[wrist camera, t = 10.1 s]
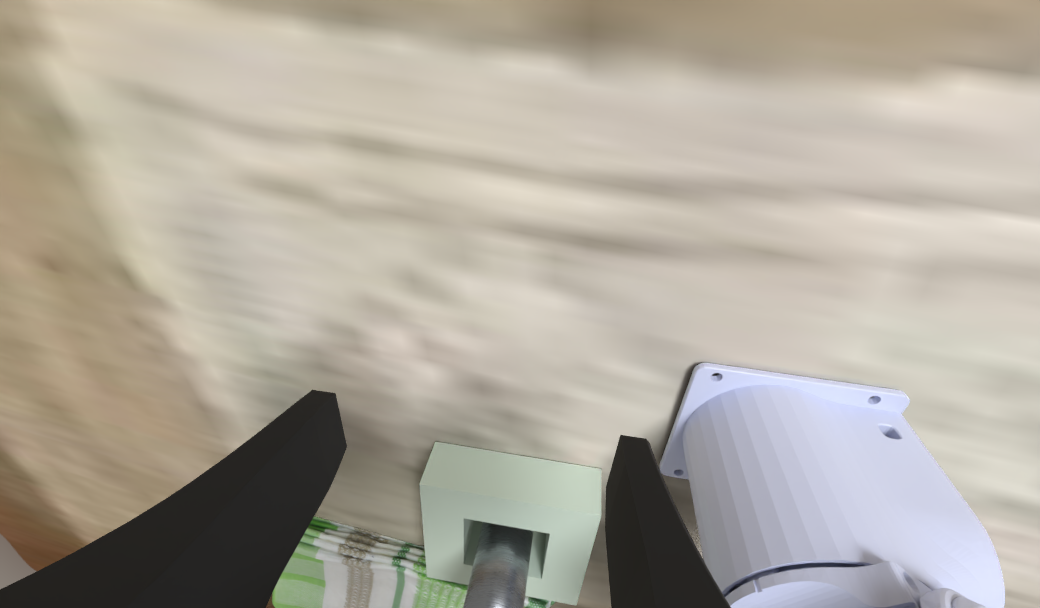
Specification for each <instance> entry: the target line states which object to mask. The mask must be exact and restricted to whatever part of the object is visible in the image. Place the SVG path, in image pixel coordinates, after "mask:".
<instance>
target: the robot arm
mask: <svg viewBox="0 0 1040 608" xmlns="http://www.w3.org/2000/svg"><path fill="white" fill-rule="evenodd" d="M714 373H720V374H719V375H717V376H712V374H714ZM872 396H874V397H873V398H870V397H872ZM909 402H910V400H909V397H908V396H907V395H906V394H905V393H904V392H903V391H900V390H894V389H887V388H880V387H873V386H866V385H859V384H852V383H845V382H838V381H831V380H824V379H817V378H810V377H803V376H796V375H789V374H782V373H775V372H768V371H761V370H754V369H747V368H740V367H733V366H726V365H719V364H712V363H701V364H698V365H697V366H695V368H694V370H693V372H692V375H691V378H690V381H689V384H688V386H687V389H686V392H685V395H684V398H683V400H682V403H681V406H680V409H679V411H678V414H677V417H676V420H675V423H674V425H673V428H672V431H671V434H670V437H669V439H668V442H667V445H666V448H665V451H664V453H663V456H662V459H661V462H660V470H659V467H658V465H657V462H656V460H655V457H654V454H653V452H652V449H651V446H650V443H649V442H648V441H647V439H644V438H637V437H630V436H623V435H620V439H619V442H618V446H617V450H616V453H615V457H614V461H613V464H612V468H611V471H610V475H609V479H608V482H607V486H606V518H605V532H606V545H607V557H608V570H609V582H610V594H611V606H612V608H1004V604H1005V588H1004V580H1003V575H1002V570H1001V567H1000V563H999V559H998V556H997V554H996V551H995V548H994V546H993V543H992V541H991V539H990V537H989V535H988V533H987V532H986V530H985V528H984V527H983V525H982V524H981V522H980V521H979V519H978V518H977V516H976V515H975V514H974V512H973V511H972V510H971V508H970V507H969V505H968V504H967V503H966V501H965V500H964V499H963V497H962V496H961V495H960V493H959V492H958V490H957V489H956V488H955V486H954V485H953V484H952V482H951V481H950V480H949V478H948V477H947V475H946V474H945V473H944V471H943V470H942V469H941V467H940V466H939V465H938V463H937V462H936V460H935V459H934V458H933V456H932V455H931V454H930V452H929V451H928V450H927V448H926V447H925V445H924V444H923V443H922V441H921V440H920V439H919V437H918V436H917V435H916V433H915V432H914V430H913V429H912V428H911V426H910V425H909V424H908V422H907V421H906V420H905V418H904V417H903V415H902V413H903V411H904V410H905V409H906V407H907V406H908V405H909ZM346 448H347V445H346V440H345V436H344V431H343V427H342V422H341V417H340V413H339V408H338V403H337V399H336V394H335V393H330V392H323V391H316V390H312V391H311V392H309V393H308V394H307V395H305V396H304V397H303V398H301V399H300V400H299V401H298V402H296V403H295V404H294V405H293V406H291V407H290V408H289V409H287V410H286V411H285V412H284V413H282V414H281V415H280V416H279V417H277V418H276V419H275V420H274V421H272V422H271V423H270V424H269V425H267V426H266V427H265V428H263V429H262V430H261V431H260V432H258V433H257V434H256V435H254V436H253V437H252V438H251V439H249V440H248V441H247V442H245V443H244V444H243V445H241V446H240V447H239V448H237V449H236V450H235V451H234V452H232V453H231V454H230V455H228V456H227V457H225V458H224V459H223V460H221V461H220V462H219V463H217V464H216V465H214V466H213V467H211V468H210V469H209V470H207V471H206V472H204V473H203V474H202V475H200V476H199V477H197V478H196V479H195V480H193V481H192V482H190V483H189V484H187V485H186V486H184V487H183V488H181V489H180V490H178V491H177V492H175V493H174V494H172V495H171V496H169V497H168V498H166V499H165V500H163V501H162V502H160V503H158V504H157V505H155V506H154V507H152V508H150V509H149V510H147V511H146V512H144V513H142V514H141V515H139V516H137V517H136V518H134V519H132V520H131V521H129V522H127V523H126V524H124V525H122V526H120V527H119V528H117V529H115V530H113V531H111V532H110V533H108V534H106V535H104V536H102V537H101V538H99V539H97V540H95V541H94V542H92V543H90V544H88V545H86V546H85V547H83V548H81V549H79V550H77V551H76V552H74V553H72V554H70V555H68V556H66V557H64V558H63V559H61V560H59V561H57V562H55V563H53V564H51V565H49V566H47V567H45V568H43V569H41V570H39V571H37V572H35V573H33V574H31V575H29V576H27V577H25V578H23V579H21V580H19V581H17V582H15V583H13V584H11V585H9V586H7V587H5V588H3V589H1V590H0V608H266V606H267V603H268V601H269V599H270V597H271V594H272V592H273V590H274V588H275V586H276V584H277V582H278V580H279V578H280V576H281V575H282V573H283V571H284V569H285V567H286V565H287V564H288V562H289V560H290V558H291V556H292V555H293V553H294V551H295V549H296V548H297V546H298V544H299V542H300V540H301V539H302V537H303V535H304V533H305V531H306V530H307V528H308V526H309V524H310V523H311V521H312V519H313V517H314V515H315V514H316V512H317V510H318V508H319V506H320V505H321V503H322V501H323V499H324V497H325V495H326V494H327V492H328V490H329V488H330V486H331V484H332V482H333V480H334V477H335V475H336V472H337V470H338V468H339V465H340V463H341V460H342V458H343V455H344V453H345V450H346ZM677 469H679V470H677ZM661 473H662V474H663V475H665V476H670V477H676V478H682V479H688V480H689V483H690V489H691V494H692V499H693V505H694V510H695V516H696V521H697V527H698V532H699V537H700V543H701V548H702V554H703V559H704V561H703V559H702V557H701V555H700V553H699V551H698V550H697V548H696V546H695V544H694V542H693V540H692V538H691V536H690V534H689V532H688V530H687V528H686V526H685V524H684V522H683V520H682V518H681V516H680V514H679V512H678V510H677V508H676V506H675V504H674V502H673V499H672V497H671V495H670V493H669V491H668V488H667V486H666V484H665V481H664V479H663V477H662V474H661Z"/></svg>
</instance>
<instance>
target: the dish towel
mask: <svg viewBox="0 0 1040 608" xmlns="http://www.w3.org/2000/svg"><path fill="white" fill-rule="evenodd" d="M467 589H468V585H466V584H460V583H455V582H450V581H445V580H439V579H434V578H429V577H427V570H426V559H425V547H422V546H417V545H414V544H411V543H407V542H404V541H401V540H397V539H393V538H390V537H386V536H383V535H380V534H377V533H374V532H370V531H367V530H363V529H359V528H356V527H352V526H347V525H343V524H340V523H337V522H332V521H328V520H325V519H321V518H318V517H313V519H312V521H311V523H310V524H309V526H308V528H307V530H306V531H305V533H304V535H303V537H302V539H301V540H300V542H299V544H298V546H297V548H296V549H295V551H294V553H293V555H292V556H291V558H290V560H289V562H288V564H287V565H286V567H285V569H284V571H283V573H282V575H281V576H280V578H279V580H278V582H277V584H276V586H275V588H274V590H273V597H272V602H273V605H274V607H275V608H463V606H464V602H465V598H466V593H467ZM554 603H555V601H549V600H544V599H539V598H534V597H528V596H525V601H524V608H549V607H550V606H551V605H553V604H554Z"/></svg>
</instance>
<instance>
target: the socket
mask: <svg viewBox="0 0 1040 608" xmlns="http://www.w3.org/2000/svg"><path fill="white" fill-rule="evenodd" d="M419 487H420V499H421V511H422V523H423V535H424V547H425V559H426V570H427V577H429V578H434V579H439V580H445V581H450V582H455V583H460V584H466V585H468V584H469V580H470V576H471V571H472V567H473V563H474V558H475V554H476V550H477V545H478V541H479V536H480V532H481V528H482V523H483V522H487V523H492V524H498V525H503V526H509V527H515V528H520V529H526V530H531V531H533V539H532V547H531V555H530V562H529V570H528V578H527V586H526V593H525V596H528V597H534V598H539V599H544V600H549V601H555V602H560V603H565V604H570V605H577V602H578V598H579V594H580V591H581V587H582V584H583V580H584V576H585V573H586V569H587V566H588V562H589V558H590V555H591V551H592V548H593V544H594V540H595V537H596V533H597V530H598V526H599V522H600V519H601V469H599V468H593V467H587V466H581V465H575V464H569V463H563V462H557V461H551V460H545V459H539V458H532V457H526V456H520V455H514V454H508V453H502V452H496V451H490V450H484V449H478V448H472V447H466V446H460V445H454V444H448V443H442V442H436V441H435V444H434V447H433V449H432V452H431V454H430V457H429V460H428V462H427V465H426V468H425V470H424V473H423V476H422V478H421V481H420V483H419ZM474 520H475V521H474ZM479 521H481V522H479ZM535 531H537V532H535ZM541 532H543V533H541Z"/></svg>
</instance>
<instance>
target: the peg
mask: <svg viewBox="0 0 1040 608" xmlns="http://www.w3.org/2000/svg"><path fill="white" fill-rule="evenodd" d="M532 539H533V531H531V530H526V529H520V528H515V527H509V526H503V525H498V524H492V523H487V522H483V523H482V528H481V532H480V536H479V541H478V545H477V550H476V554H475V558H474V563H473V567H472V571H471V576H470V580H469V584H468V589H467V593H466V598H465V602H464V606H463V608H524V601H525V593H526V586H527V578H528V570H529V562H530V555H531V547H532Z"/></svg>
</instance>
